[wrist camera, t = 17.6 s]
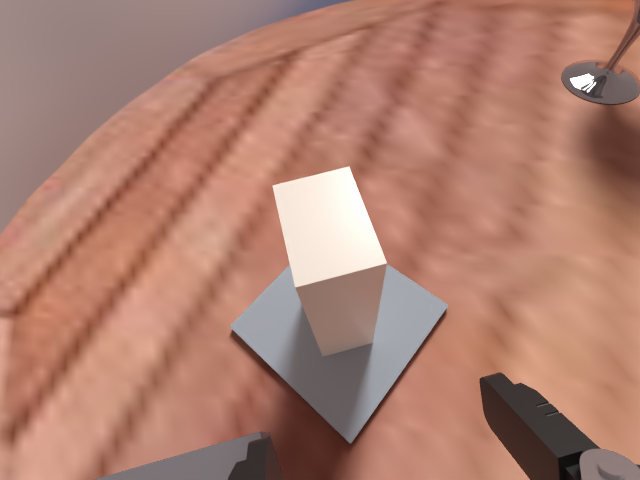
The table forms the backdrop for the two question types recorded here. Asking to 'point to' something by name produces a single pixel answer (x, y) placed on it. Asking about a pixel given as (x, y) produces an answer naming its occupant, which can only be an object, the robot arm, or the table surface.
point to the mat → (347, 366)
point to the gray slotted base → (194, 463)
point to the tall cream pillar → (332, 257)
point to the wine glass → (606, 72)
